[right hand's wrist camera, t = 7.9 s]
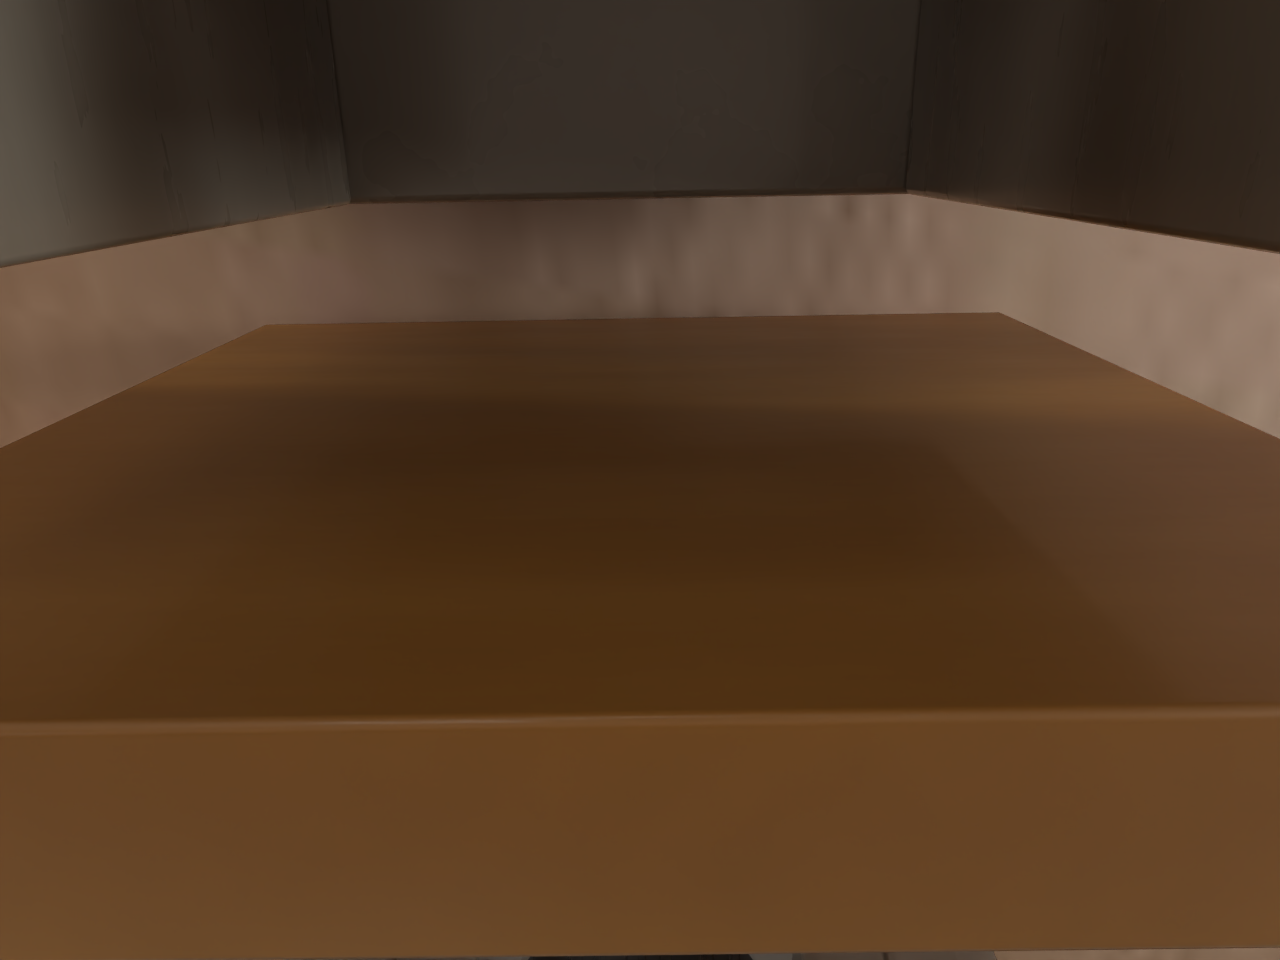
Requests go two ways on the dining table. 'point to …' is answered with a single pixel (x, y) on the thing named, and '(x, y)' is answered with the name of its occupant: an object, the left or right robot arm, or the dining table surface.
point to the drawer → (637, 508)
